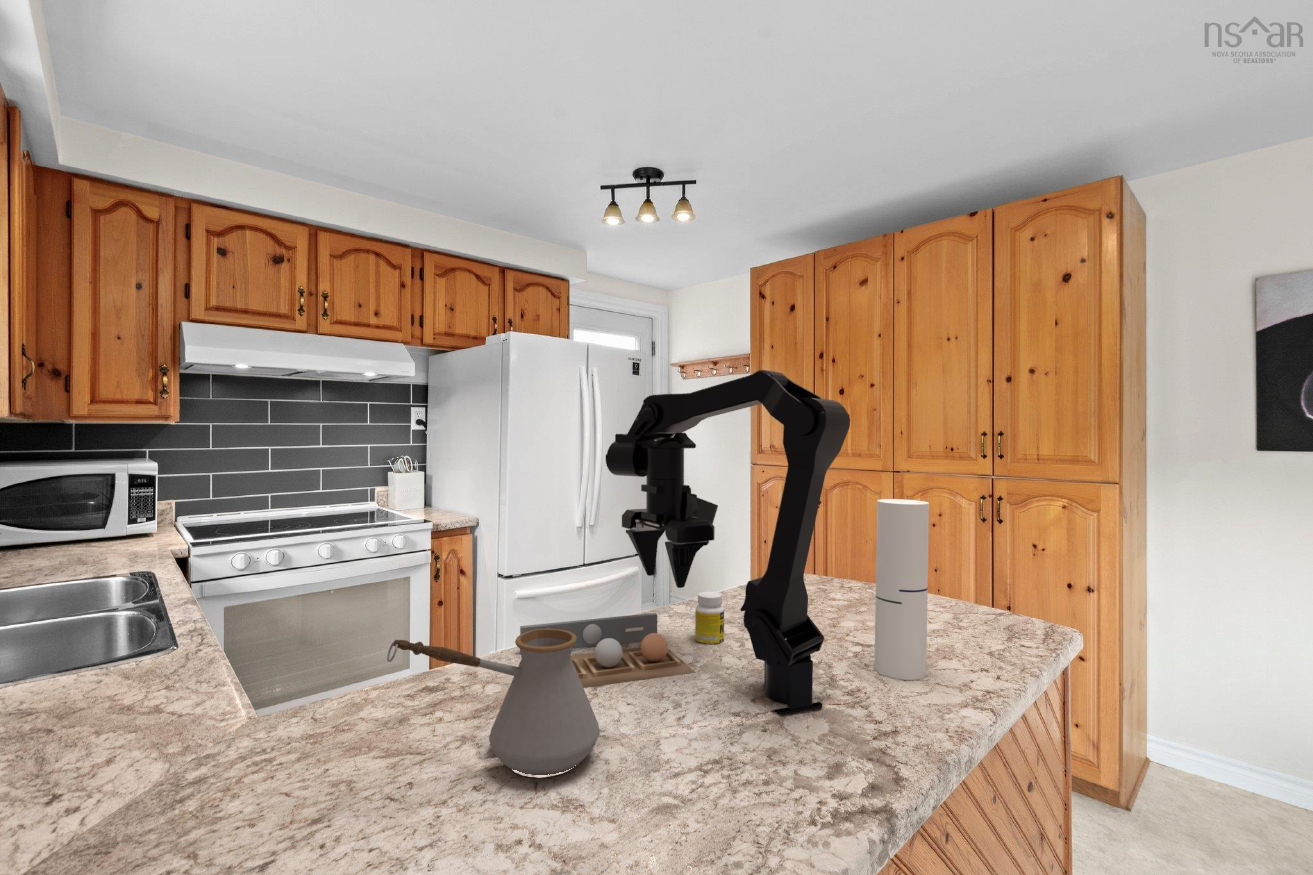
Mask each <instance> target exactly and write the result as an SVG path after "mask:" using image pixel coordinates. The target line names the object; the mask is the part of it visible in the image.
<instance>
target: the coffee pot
mask: <svg viewBox="0 0 1313 875" xmlns="http://www.w3.org/2000/svg"><path fill="white" fill-rule="evenodd" d="M576 641H577V637H576V635H575V634H573V633H571V632H569V631H565V630H559V629H534V630H531V631H528V632H526V633H523V634H521V635H520V634H519V635H517V637H516V638H515V641H514V643H515V645H516V647H517V648H519V653H521V654H520V656H521V659H520V662H519V663H518V666H515V665H511V664H505V663H502V662H498V661H491V660H487V659H482V658H480V657H477V656H474V655H470V654H467V653H464V652H461V651H458V650H454V649H450V648H448V647H444V646H436V645H435V646H433V645H424V644H423V642H422V641H417V642H415V643H413V642H410V641H409V640H406V639H395V640H394V641H392V643H391V645H390V647H389V648H388V652H387V656H386V661H387V662H388V663H389V662H390V663H391V662H392V661H393V660H394V658H395V656H396V654H397V651H398V649H399V650H403V651H407V650H408V651H411V652H412V653H413V654H414V655H415V656H418V655H420V654H422V655H425V656H427V657H429V658H433V659H435V660H437V661H440V662H446V663H451V664H456V665H457V664H458V665H462V666H468V667H474V668H478V667H479V668H481V669H486V670H490V671H494V672H496V673H502V674H504V675H509V676H513V678H512V680H511V682H510V685H509V687H508V690H507V691H506V695H505V696H504V699H503V701H502V703H501V705H500V708H499V711H498V713H497V715H496V717H495V720H494V723H493V725H492V726H491V729H490V733H489V737H488V741H489V743H490V748H491V750H492V752H493V755H494V756H495V757H496V758H497V759H498V760H499V761H500V762H501V763H502V764H503V765H504V766H506V767H507V768H509V769H510V768H511V769H513V770H517V771H519V772H522V773H525V774H532V775H548V774H549V775H550V774H556V773H559V772H564V771H566V770H569V769H571V768H573V767H575V765H577V764H578V763H579V762H580V763H581V762H582V761H583V760H584V759H586V758H587V756H588V755H589V754H590V753H591V752H592V751H593V749H594V747H595V745H596V743H597V741H598V738H599V736H600V724H599V722H598V719H597V718H596V715H595V713H594V711H593V708H592V705H591V703H590V701H589V699H588V696H587V693H586V691H585V688H583V686H582V683H581V681H580V679H579V676H578V674H577V671H576V669H575V667H574V664H573V662H572V659H571V657H570V656H572V650H573V649H572V646H573V645H574V644H575V643H576ZM393 647H395V648H394V651H393V654H392V656H391V651H392V648H393ZM390 656H391V658H390ZM580 763H579V764H580ZM579 764H578V765H579ZM578 765H577V766H578ZM575 768H576V767H575ZM511 769H510V770H511Z"/></svg>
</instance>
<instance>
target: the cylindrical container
mask: <svg viewBox="0 0 1313 875" xmlns="http://www.w3.org/2000/svg"><path fill="white" fill-rule="evenodd" d="M929 530H930V502H928V501H923V500H916V499H901V498H899V499H898V498H881V499H877V500H876V542H875V543H876V544H875V545H876V546H875V547H876V548H875V552H876V553H875V555H876V558H875V602H874V603H875V607H874V608H875V611H874V612H875V614H874V617H875V618H874V670H875V671H876V672H878V673H879V674H881V675H883V676H885V677H888V678H890V679H891V678H892V679H896V680H903V681H917V680H922V679H924V678H925V677H926V676H927V653H928V652H927V648H928V645H927V644H928V599H929V598H928V593H929V589H928V587H929V540H930V538H929V536H930V534H929V532H930V531H929Z"/></svg>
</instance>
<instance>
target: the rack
mask: <svg viewBox="0 0 1313 875" xmlns="http://www.w3.org/2000/svg"><path fill="white" fill-rule="evenodd" d="M622 651H623V654H622V658H621V660H620V662H619V663H618V664H617V665H616V666H614V667H610V668H606V667H603V666H601V665H600V664H599V663H598V662H597V660H596V658H595V652H593V653H592V652H591V653H585V654H576V655H570V657H571V659H572V662H573V664H574V667H575V669H576V671H577V674H578V676H579V679H580V681H581V683H582V686H583V688H584V689H587V688H592V687H593V688H594V687H600V686H607V685H608V686H609V685H615V684H622V683H630V682H637V681H643V680H652V679H659V678H665V677H673V676H680V675H688V674H695V673H697V672H696V671H695V670H694V669H692V667H690V666H689V665H688V664H687V663H685V661H684V660H683V659H681V657H679V656H678V655H677V654H676V653H674V652H673V651H672V650H670V649H669V648H668V650H667V653H666V655H665V657H664V658H663V659H661V660H660V661H657V662H652V661H649V660H647V659H646V658H645V657H644V656H643V655H642V652H641V647H635V648H634V647H633V648H627V649H625V648H624V649H622Z"/></svg>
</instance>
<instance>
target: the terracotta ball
mask: <svg viewBox="0 0 1313 875" xmlns="http://www.w3.org/2000/svg"><path fill="white" fill-rule="evenodd" d="M668 646H669V645H668V642H667V640H666V638H665V636H663V635H661V634H660V633H658V632H657V633H651V634H649V635H647V636H646V637H645V638H644V639H643V640H642V641H641V643H640V648H641V652H642V655H643V656H644V657H645V658H646V659H647V660H649V661H652V662H657V661H660V660H661V659H663V658H664V657H665V655H666V653H667V650H668V649H669V647H668Z"/></svg>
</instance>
